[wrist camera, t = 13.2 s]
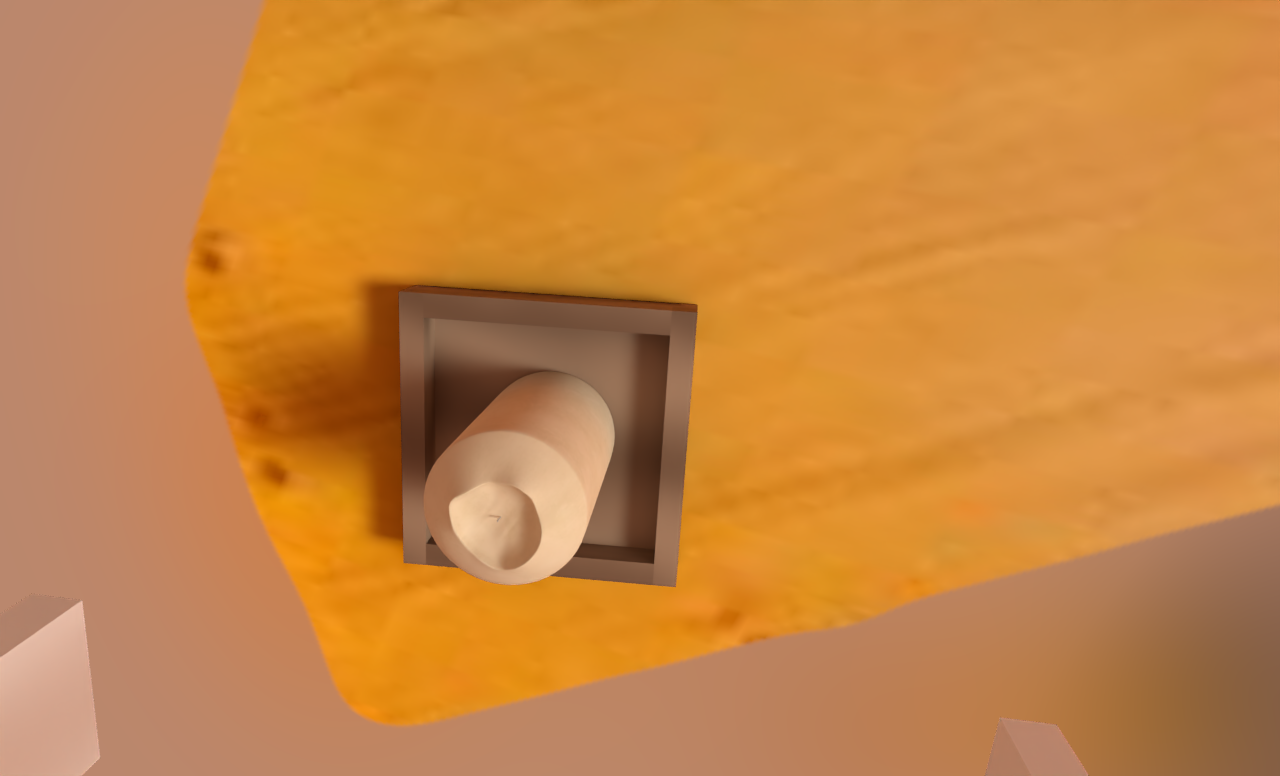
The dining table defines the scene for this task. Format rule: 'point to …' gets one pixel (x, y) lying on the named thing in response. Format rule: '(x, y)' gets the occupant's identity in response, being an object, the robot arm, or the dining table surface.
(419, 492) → the tray
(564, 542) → the candle
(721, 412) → the dining table surface
